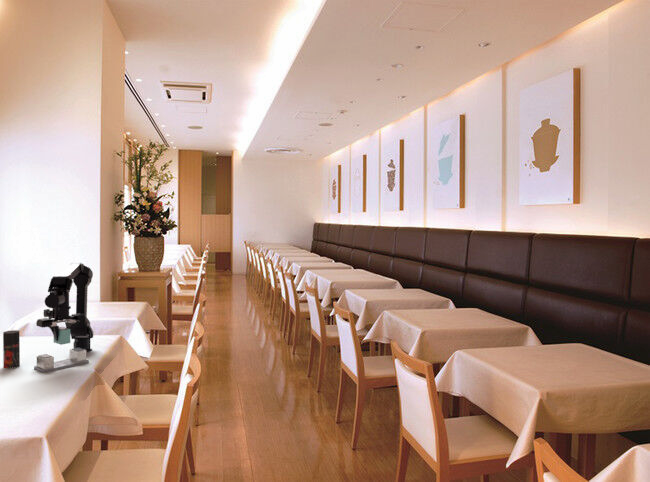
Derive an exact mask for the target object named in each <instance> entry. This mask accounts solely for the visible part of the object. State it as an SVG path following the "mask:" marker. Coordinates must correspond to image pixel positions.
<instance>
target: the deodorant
mask: <svg viewBox="0 0 650 482" xmlns="http://www.w3.org/2000/svg"><path fill="white" fill-rule="evenodd" d="M20 341H21V340H20V330H13V329H12V330H6V331H3V332H2V343H3V344H2V345H3V347H2V350H3V351H2V352H3V359H2V361H3V365H2V366H3V369H16V368H18V367H20V366H21V365H20V364H21V363H20V360H21V358H20V354H21V353H20V352H21V350H20V348H21V347H20V345H21V344H20Z"/></svg>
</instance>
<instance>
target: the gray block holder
mask: <svg viewBox="0 0 650 482" xmlns="http://www.w3.org/2000/svg"><path fill="white" fill-rule="evenodd" d="M89 363H90V360H88V359H87V351H86V350H85V349H82V348H74V347H73V348H71V349H69V358H67V359H63V360H58V361H55V357H54V356H53V355H50V354H47V353H44V354H40V355H36V365H34V366H33V368H34V370H37V371H39V372H41V373H44V374H45V373H49V372H53V371H57V370H63V369H66V368H71V367H76V366H80V365H85V364H89Z"/></svg>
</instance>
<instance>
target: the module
mask: <svg viewBox="0 0 650 482" xmlns="http://www.w3.org/2000/svg"><path fill="white" fill-rule="evenodd" d="M53 343H54V344H57V345H60V346H61V345H66V344H71V334H70V329H69V328H66V326H59V336H58V341H56V340H55V337H54V336H53Z"/></svg>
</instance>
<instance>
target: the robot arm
mask: <svg viewBox="0 0 650 482" xmlns="http://www.w3.org/2000/svg"><path fill="white" fill-rule="evenodd" d="M93 275H94V272H93V270H92V269H91V267H89V266H86V265H85V264H84V263H83V262H72V263H70V265H69V266H68V267H67V268H66V269H65V270H64V271H63V272H61V273H56V274H54V275H53V276H52V277H51V279H50V283H49V285H48V289H47V293H49V294H48V295H46V297H45V298H44V304H45V306H46V307H47V309H43V317H44V318H38V319H37V320H36V321H35V323H36V325H35V326H37V327H39V328H49V329H50V331H51V332H52V335H53V338H54V337H55V340H56V341H58V336H59V327H60V326H59V325H58V324H59V323H64V324H65V328H69V329H70V339H71V340H74V341H73V349H74V348H82V349H85V350H86V352H89V351H90V352H91V351H93V349H92V348H91V339H93V338H94V331H93V329H92V327H91V321H90V320H89V318H88V317H87V316H88V314H87V313H88V287H89V286H90V284H91V282H92V280H93ZM73 283H74V286H75V287H76V296H75V297H76V298H75V301H76V302H75V313H72V314H71V315H70V309H71V307H72V306H70V292H71V289H72V285H73Z"/></svg>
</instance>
